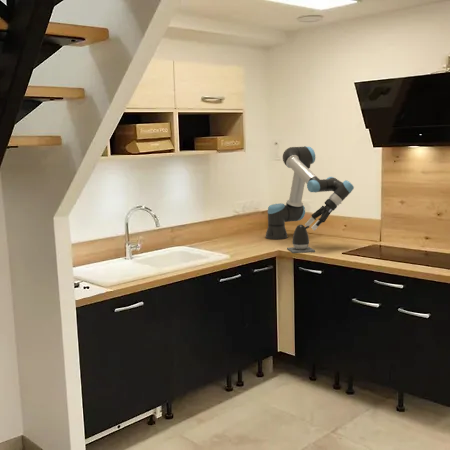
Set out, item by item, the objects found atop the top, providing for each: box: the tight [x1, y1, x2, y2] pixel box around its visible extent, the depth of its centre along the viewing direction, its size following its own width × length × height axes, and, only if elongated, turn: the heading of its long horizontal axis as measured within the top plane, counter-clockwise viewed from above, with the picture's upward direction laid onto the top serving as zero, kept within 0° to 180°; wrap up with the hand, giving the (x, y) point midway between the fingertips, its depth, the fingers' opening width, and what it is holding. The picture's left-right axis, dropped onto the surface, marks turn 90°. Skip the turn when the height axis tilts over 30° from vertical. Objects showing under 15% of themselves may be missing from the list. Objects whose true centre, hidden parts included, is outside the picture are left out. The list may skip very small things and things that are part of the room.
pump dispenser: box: [291, 224, 310, 250], centre depth 355 cm, size 10×10×15 cm
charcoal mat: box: [286, 246, 316, 254], centre depth 356 cm, size 13×14×1 cm
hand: (309, 227), depth 354 cm, fingers open, 13 cm apart
